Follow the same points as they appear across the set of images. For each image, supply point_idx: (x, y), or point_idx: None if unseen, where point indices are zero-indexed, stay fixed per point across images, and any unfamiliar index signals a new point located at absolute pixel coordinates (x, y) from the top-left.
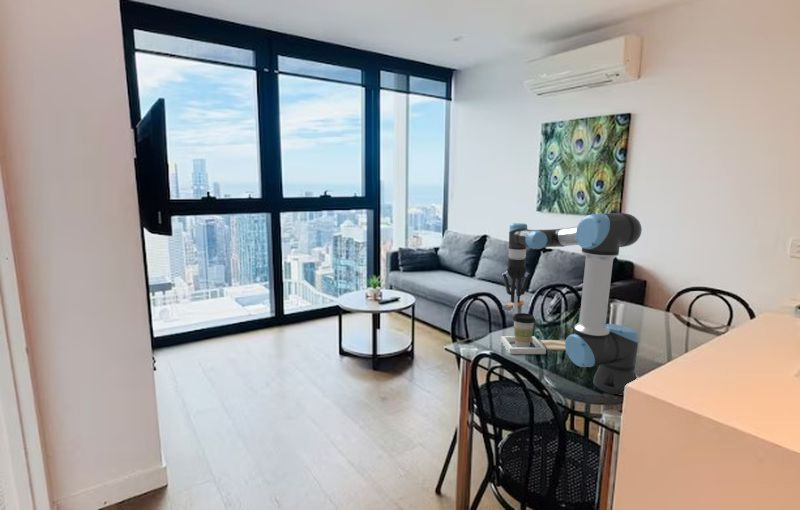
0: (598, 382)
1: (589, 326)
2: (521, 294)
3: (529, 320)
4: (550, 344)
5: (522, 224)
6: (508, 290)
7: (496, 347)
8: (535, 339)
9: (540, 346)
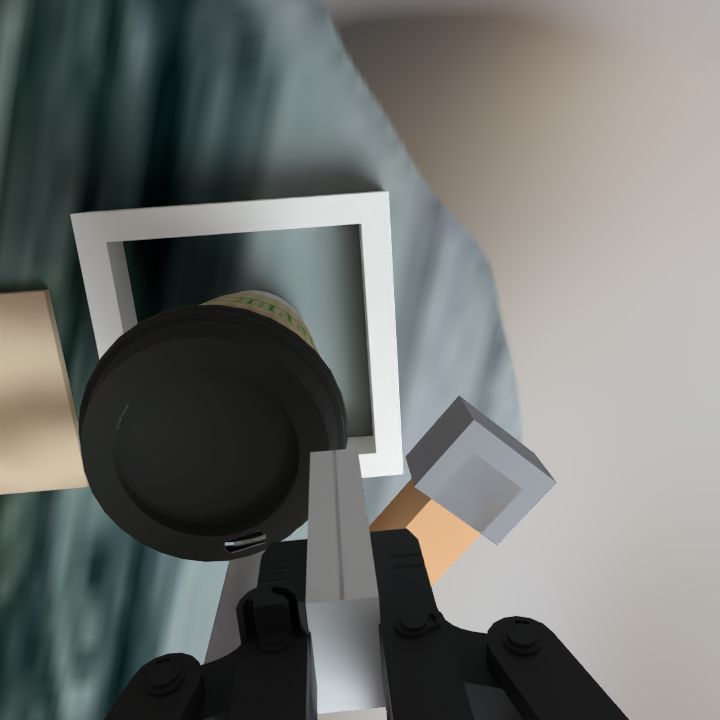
0: None
1: None
2: (206, 670)
3: (159, 333)
4: (18, 400)
5: None
6: (581, 703)
7: (458, 326)
8: None
9: (111, 269)
